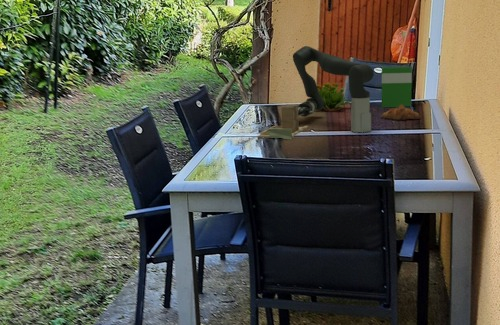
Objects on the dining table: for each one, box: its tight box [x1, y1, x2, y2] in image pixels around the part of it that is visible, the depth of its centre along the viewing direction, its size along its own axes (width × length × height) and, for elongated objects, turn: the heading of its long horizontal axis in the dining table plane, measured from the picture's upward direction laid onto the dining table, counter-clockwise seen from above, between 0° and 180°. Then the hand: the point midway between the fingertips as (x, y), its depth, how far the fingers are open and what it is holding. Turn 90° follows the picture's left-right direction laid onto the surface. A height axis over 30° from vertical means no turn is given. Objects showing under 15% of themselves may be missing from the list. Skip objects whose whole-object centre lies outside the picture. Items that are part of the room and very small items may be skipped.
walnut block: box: [281, 104, 300, 133], centre depth 309 cm, size 8×6×13 cm
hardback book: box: [381, 66, 413, 108], centre depth 373 cm, size 18×7×24 cm, turn 76°
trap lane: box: [256, 125, 309, 140], centre depth 310 cm, size 27×18×5 cm, turn 157°
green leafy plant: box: [316, 81, 351, 112], centre depth 373 cm, size 25×24×18 cm
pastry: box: [380, 105, 422, 121], centre depth 334 cm, size 17×15×8 cm
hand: (296, 113), depth 319 cm, fingers closed
